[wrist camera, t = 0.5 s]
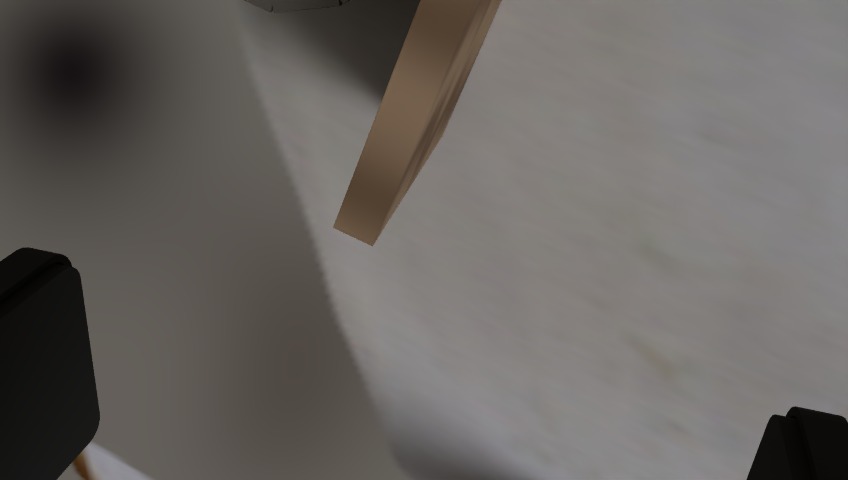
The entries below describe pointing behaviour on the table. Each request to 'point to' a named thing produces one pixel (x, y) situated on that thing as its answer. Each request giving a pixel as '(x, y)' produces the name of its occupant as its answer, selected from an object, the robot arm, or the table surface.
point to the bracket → (408, 104)
